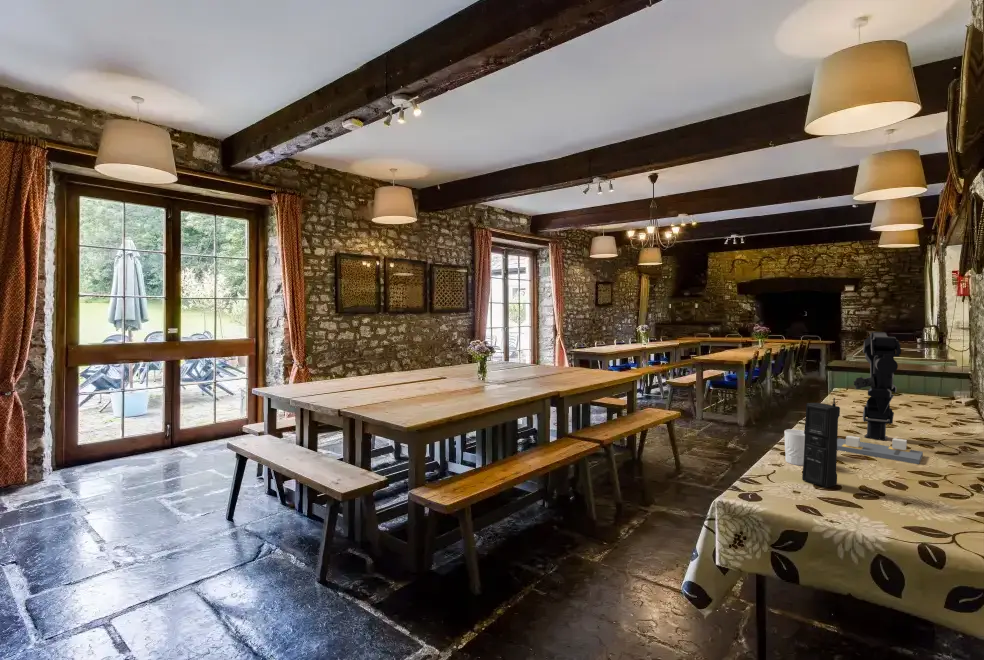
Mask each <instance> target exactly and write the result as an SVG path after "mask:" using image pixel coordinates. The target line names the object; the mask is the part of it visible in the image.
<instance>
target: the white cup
mask: <svg viewBox="0 0 984 660" xmlns="http://www.w3.org/2000/svg"><path fill="white" fill-rule="evenodd" d="M804 443H805V434H804V430H801V429H793V428H792V429H789V428H788V429H785V430H784V453H785V462H786V463H788V464H791V465H795V466H801V467H803V462H804Z"/></svg>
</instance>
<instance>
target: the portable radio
mask: <svg viewBox="0 0 984 660" xmlns="http://www.w3.org/2000/svg"><path fill="white" fill-rule="evenodd" d="M832 399H833V402H832V405H831V404H826V403H820V402H810V403H809V402H807V403H806V404H805V422H804V430H803V431H804V434H805V443H804V462H803V466H802V474H801V475H802V476H801V477H802V479H801V480H802V481H804V482H807V483H810V484H813V485H816V486H819V487H822V488H825V489H826V488H830V487H835V486H836V485H837V484H838V473H837V461H838V458H837V457H838V456H837V455H838V450H837V439H838V436H839V435H838V430H839V428H838V427H839V417H840V415H841V406H837V404H836V403H835V402H836V397H833V398H832Z"/></svg>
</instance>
